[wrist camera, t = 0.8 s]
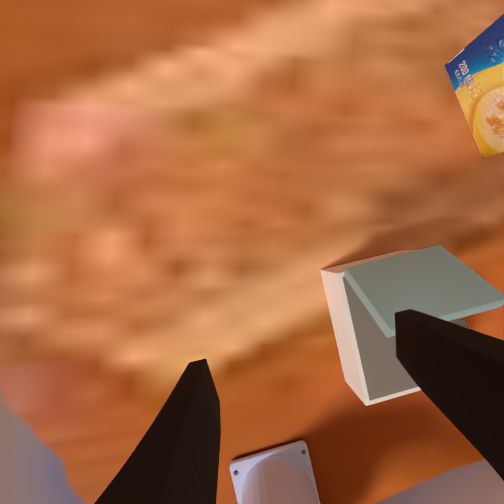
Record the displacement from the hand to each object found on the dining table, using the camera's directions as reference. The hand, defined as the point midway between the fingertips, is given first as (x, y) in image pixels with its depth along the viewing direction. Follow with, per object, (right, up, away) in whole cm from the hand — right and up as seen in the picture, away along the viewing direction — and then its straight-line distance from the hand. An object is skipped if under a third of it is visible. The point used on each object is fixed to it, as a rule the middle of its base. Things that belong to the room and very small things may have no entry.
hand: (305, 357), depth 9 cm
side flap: (+10, +1, +9) cm, 14 cm away
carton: (+11, -3, +16) cm, 20 cm away
